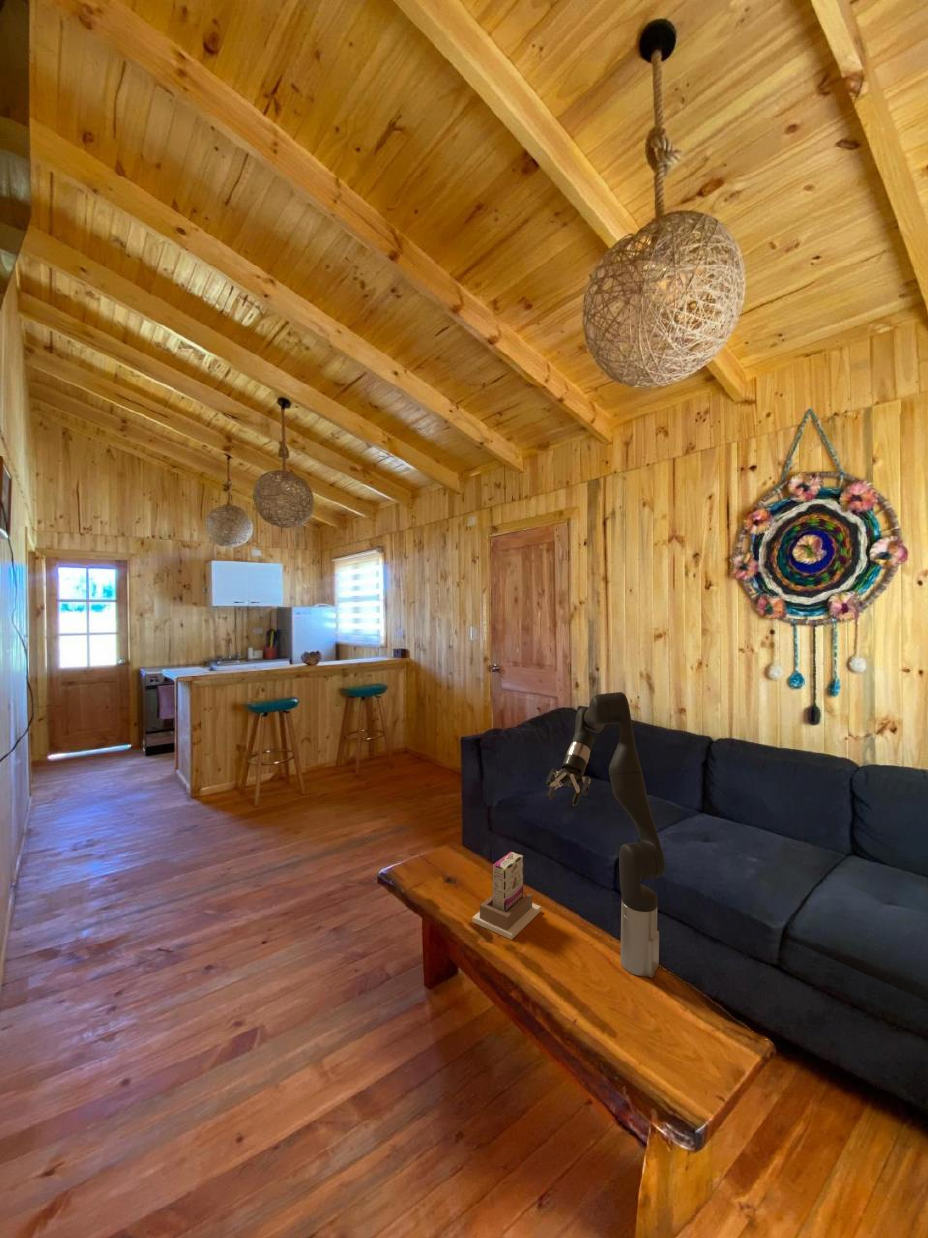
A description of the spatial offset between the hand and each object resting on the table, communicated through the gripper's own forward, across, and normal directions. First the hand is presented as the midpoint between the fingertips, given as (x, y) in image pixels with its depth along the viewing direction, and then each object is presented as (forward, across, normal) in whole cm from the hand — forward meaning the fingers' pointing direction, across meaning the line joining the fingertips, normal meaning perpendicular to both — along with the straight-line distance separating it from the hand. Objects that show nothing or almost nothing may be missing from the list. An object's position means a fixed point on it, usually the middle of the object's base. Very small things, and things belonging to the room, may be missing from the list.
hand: (561, 802), depth 168 cm
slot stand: (+36, -10, +12) cm, 39 cm away
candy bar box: (+34, -10, +11) cm, 38 cm away
